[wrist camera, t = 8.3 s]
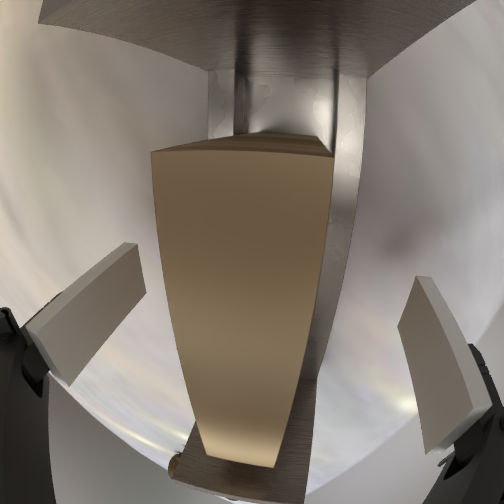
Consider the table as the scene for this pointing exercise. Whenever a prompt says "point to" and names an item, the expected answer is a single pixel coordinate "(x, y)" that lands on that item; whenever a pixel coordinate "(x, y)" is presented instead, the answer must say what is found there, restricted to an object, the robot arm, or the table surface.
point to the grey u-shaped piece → (275, 121)
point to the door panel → (242, 278)
